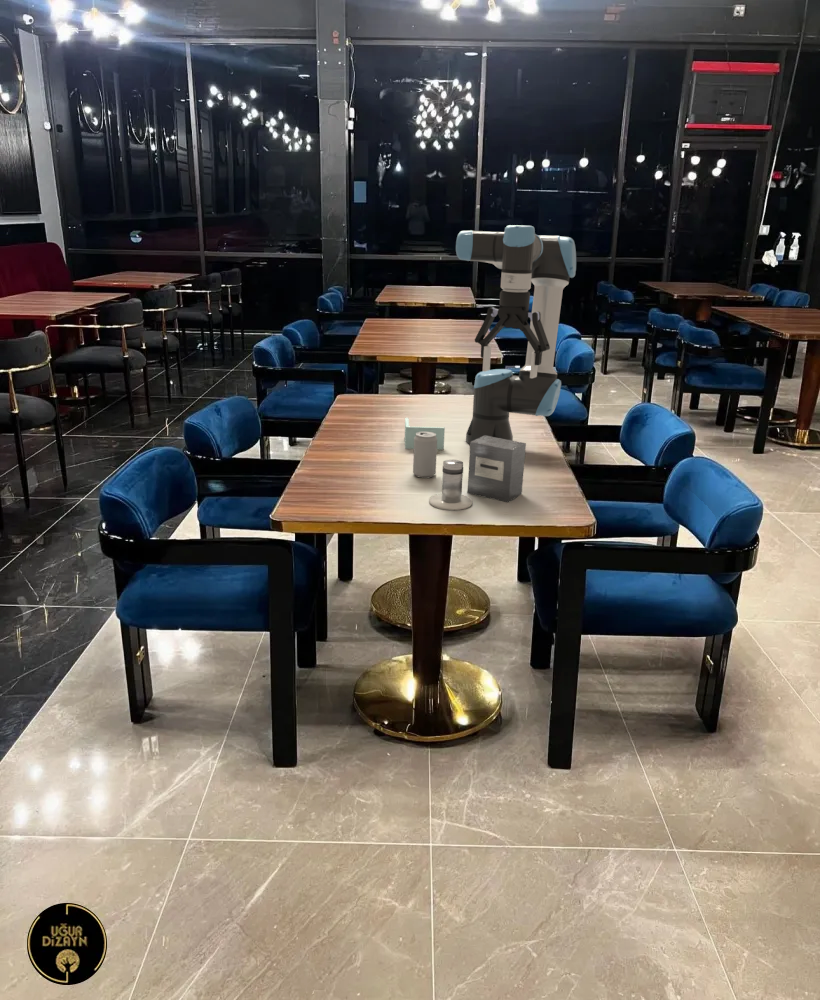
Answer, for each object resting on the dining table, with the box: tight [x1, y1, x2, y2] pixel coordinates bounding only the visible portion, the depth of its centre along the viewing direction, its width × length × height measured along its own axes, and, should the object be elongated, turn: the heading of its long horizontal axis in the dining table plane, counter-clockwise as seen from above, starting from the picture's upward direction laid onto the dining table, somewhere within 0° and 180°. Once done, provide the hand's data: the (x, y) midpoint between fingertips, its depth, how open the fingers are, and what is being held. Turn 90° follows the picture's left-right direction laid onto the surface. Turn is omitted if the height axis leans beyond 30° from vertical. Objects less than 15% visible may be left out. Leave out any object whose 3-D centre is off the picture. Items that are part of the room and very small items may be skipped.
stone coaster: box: [428, 492, 473, 511], centre depth 199 cm, size 11×11×1 cm
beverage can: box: [412, 431, 438, 479], centre depth 217 cm, size 6×6×12 cm
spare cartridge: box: [441, 459, 464, 503], centre depth 197 cm, size 5×5×10 cm
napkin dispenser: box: [466, 435, 527, 503], centre depth 203 cm, size 8×12×14 cm
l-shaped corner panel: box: [404, 417, 446, 450], centre depth 248 cm, size 12×12×8 cm
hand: (509, 374), depth 203 cm, fingers open, 13 cm apart
